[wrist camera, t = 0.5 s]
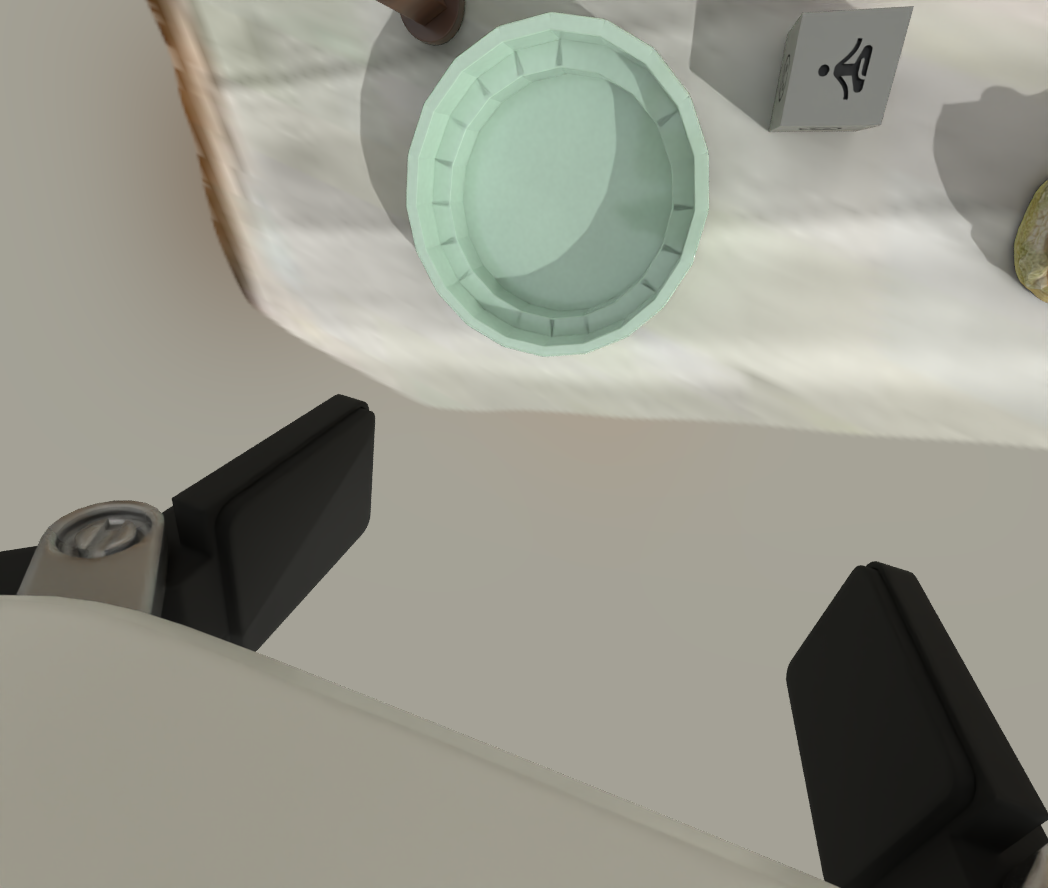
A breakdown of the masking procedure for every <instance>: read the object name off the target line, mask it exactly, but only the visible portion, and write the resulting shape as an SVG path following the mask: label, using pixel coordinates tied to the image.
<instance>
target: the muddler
mask: <svg viewBox="0 0 1048 888" xmlns="http://www.w3.org/2000/svg"><path fill="white" fill-rule="evenodd" d="M376 1H378V2H380V3H382V4H384V5H386V6H387V7H389V8H391V9H393V10H395V11H397V12H399V13H400V14H401V18H402V20H403V23H404V25H405V26H406V28H407V29H408V31H409V32H410V33H411V34H412V35H413V36H414V37H415V38H417V39H418V40H420V41H422V42H424V43H427V44H430V45H440V44H443V43H446V42H447V41H449V40H450V39H451V38H452V37H453V36H454V35H455V34H456V32H457V31H458V29H459V27H460V25H461V23H462V19H463V15H464V5H465V4H464V0H376Z"/></svg>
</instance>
